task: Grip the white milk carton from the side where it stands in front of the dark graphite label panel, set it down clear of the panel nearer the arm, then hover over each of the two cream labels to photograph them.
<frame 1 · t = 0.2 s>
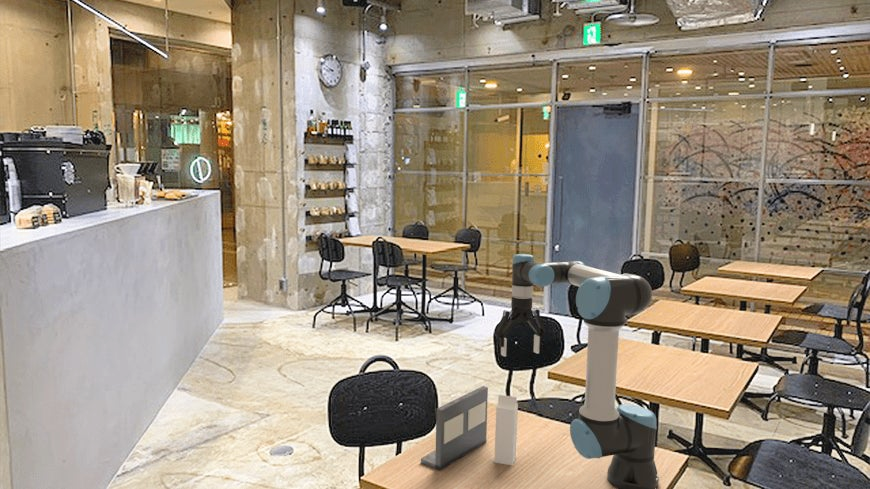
hand: (520, 354, 229), 27 cm above the table, tool pointing down, fingers open, 13 cm apart
label panel: (461, 455, 208), on the table
milk: (505, 460, 205), on the table
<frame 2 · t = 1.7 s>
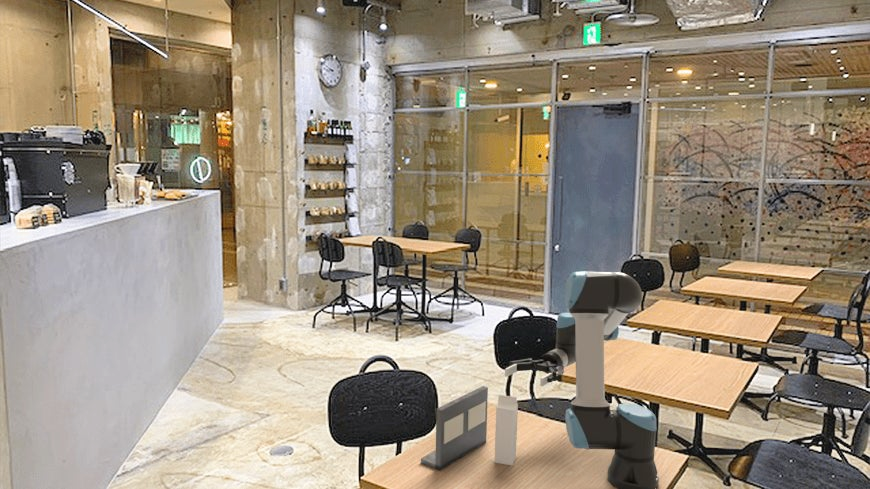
hand: (523, 377, 209), 26 cm above the table, tool horizontal, fingers open, 13 cm apart
nothing on the table moved.
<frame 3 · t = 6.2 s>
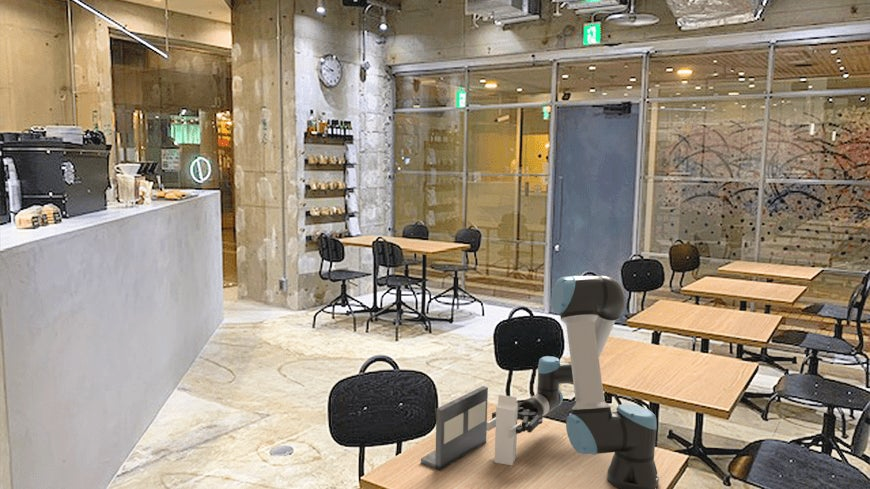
hand: (498, 430, 200), 12 cm above the table, tool horizontal, fingers closed on milk, 7 cm apart
milk: (505, 460, 205), on the table, touching gripper
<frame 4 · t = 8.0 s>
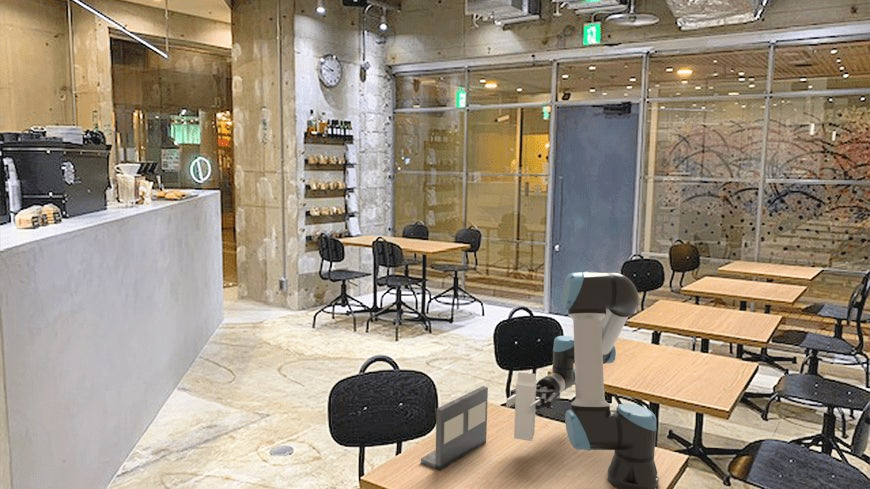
hand: (518, 406, 204), 18 cm above the table, tool horizontal, fingers closed on milk, 7 cm apart
milk: (524, 436, 209), point 6 cm above the table, touching gripper
when the fingers open (13 cm above the table, at t = 9.8 s): milk drops 1 cm, on the table.
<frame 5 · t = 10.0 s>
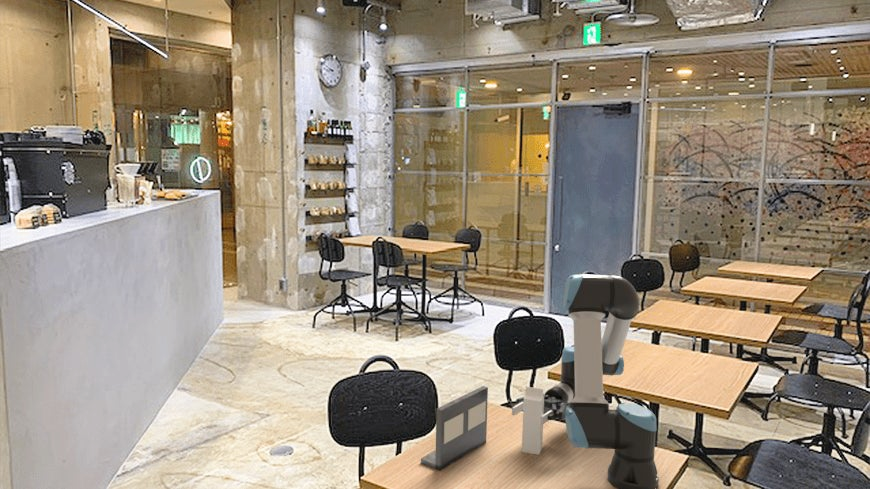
hand: (527, 415, 207), 13 cm above the table, tool horizontal, fingers open, 10 cm apart
milk: (532, 450, 213), on the table
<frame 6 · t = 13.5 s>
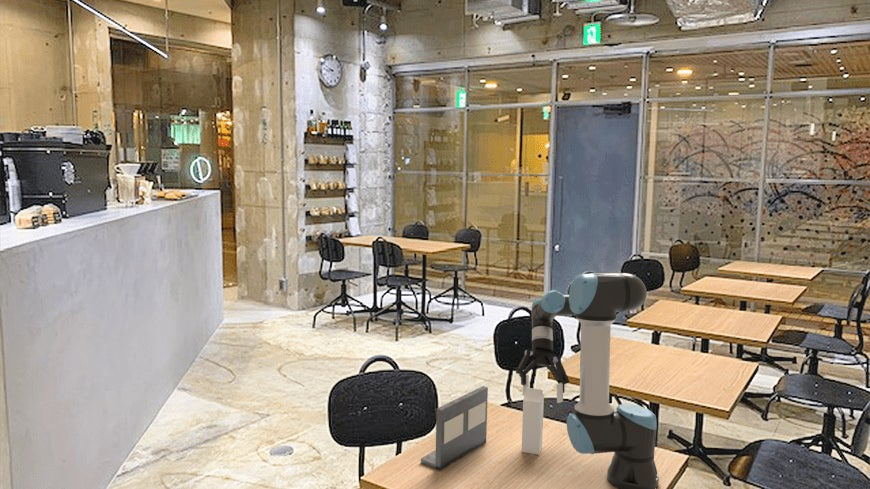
hand: (543, 398, 216), 16 cm above the table, tool tilted 40°, fingers open, 13 cm apart
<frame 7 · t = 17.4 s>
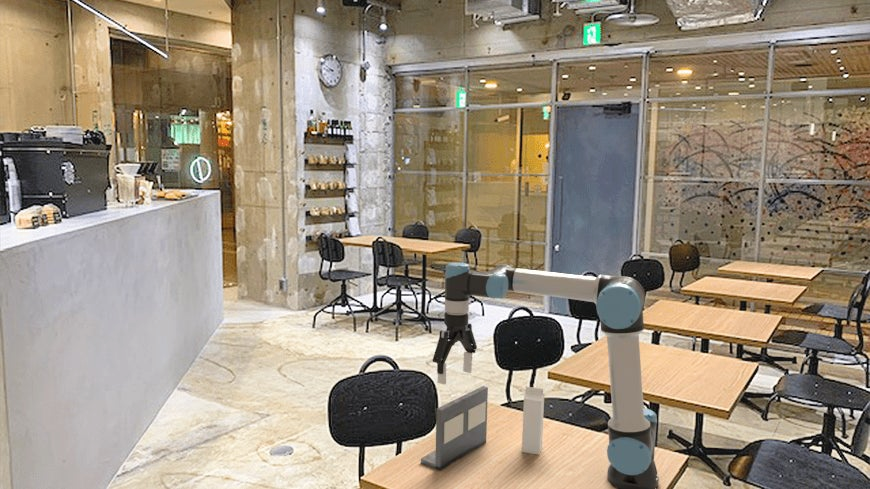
hand: (454, 377, 199), 29 cm above the table, tool pointing down, fingers open, 13 cm apart
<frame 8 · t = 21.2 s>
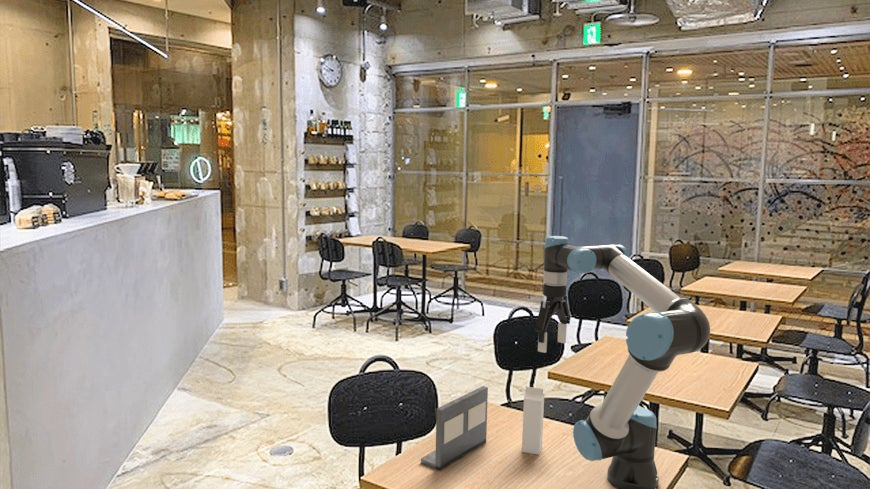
hand: (552, 347, 206), 37 cm above the table, tool pointing down, fingers open, 13 cm apart
nothing on the table moved.
at the end: milk inside the target area (0.1 cm from its centre), on the table; milk tilted 0°; the gripper is holding nothing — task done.
